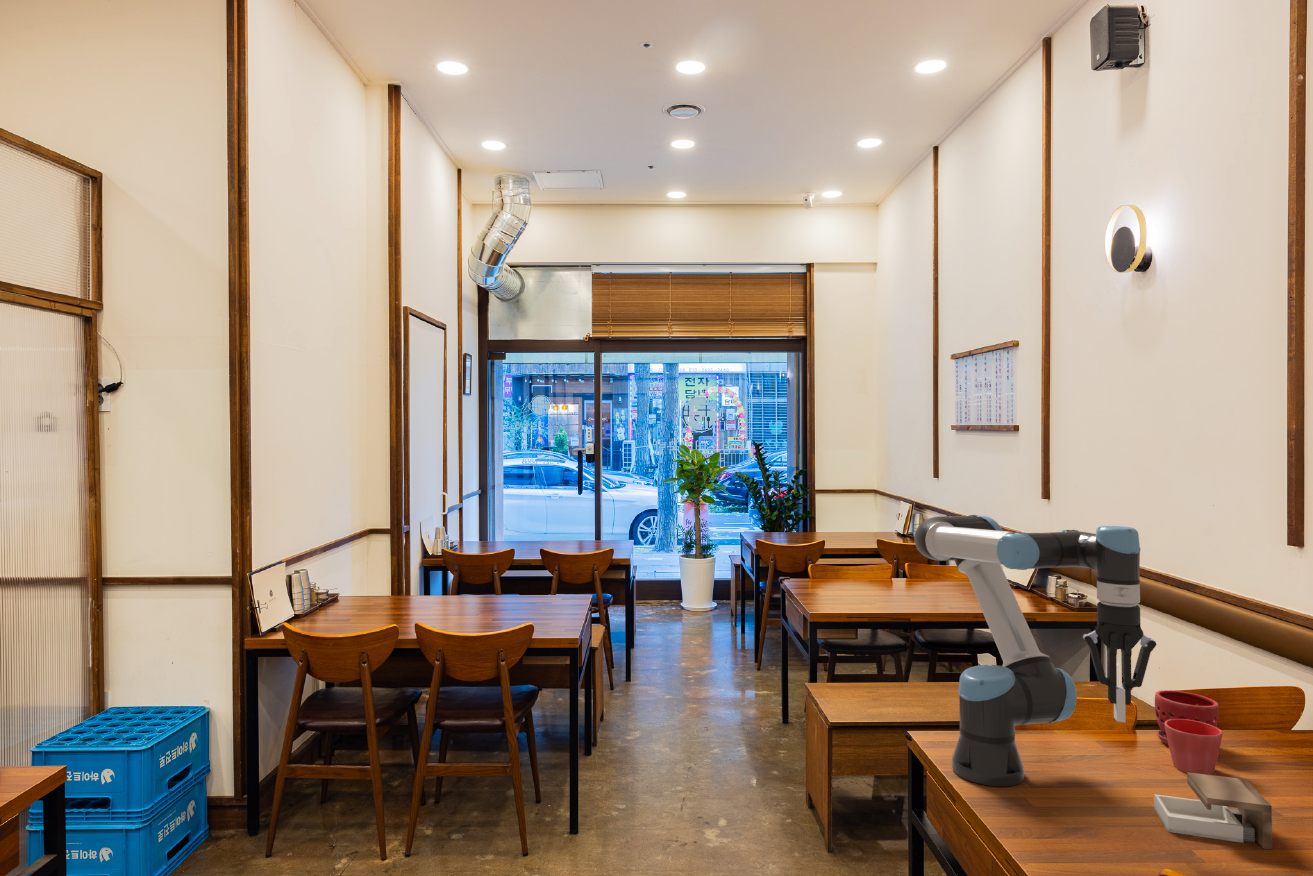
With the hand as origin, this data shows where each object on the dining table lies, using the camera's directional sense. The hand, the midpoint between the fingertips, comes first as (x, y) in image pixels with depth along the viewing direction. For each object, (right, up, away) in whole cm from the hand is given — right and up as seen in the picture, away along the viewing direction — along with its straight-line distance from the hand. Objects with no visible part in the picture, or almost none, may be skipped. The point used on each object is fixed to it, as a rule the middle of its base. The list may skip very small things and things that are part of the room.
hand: (1119, 719), depth 154 cm
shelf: (+17, -19, -7) cm, 26 cm away
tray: (+12, -19, -5) cm, 23 cm away
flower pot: (+30, -20, +22) cm, 42 cm away
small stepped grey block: (+19, -19, -7) cm, 28 cm away
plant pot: (+39, -20, +36) cm, 56 cm away
